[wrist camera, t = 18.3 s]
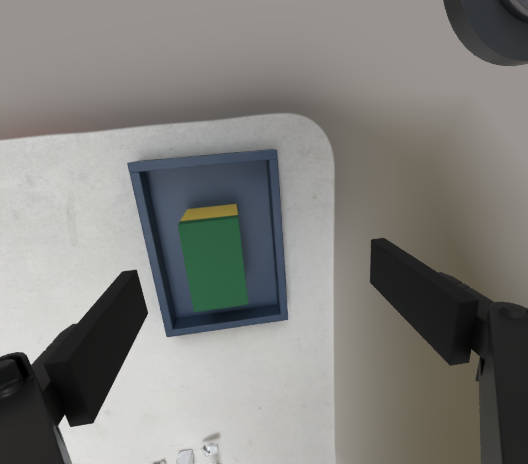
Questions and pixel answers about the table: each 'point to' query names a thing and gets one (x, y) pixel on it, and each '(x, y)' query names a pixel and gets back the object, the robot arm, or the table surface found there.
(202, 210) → the sponge
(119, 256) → the table surface
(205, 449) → the miniature set
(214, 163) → the tray
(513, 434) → the robot arm
